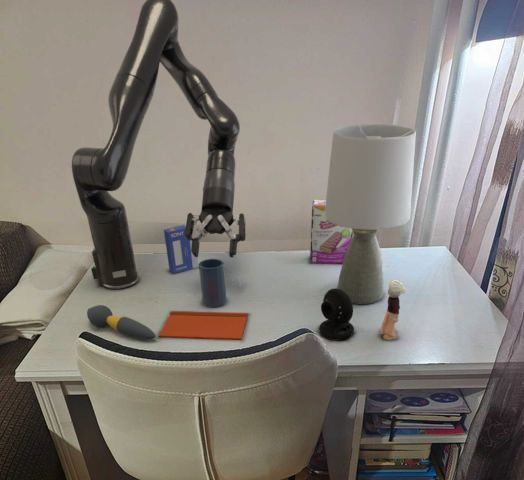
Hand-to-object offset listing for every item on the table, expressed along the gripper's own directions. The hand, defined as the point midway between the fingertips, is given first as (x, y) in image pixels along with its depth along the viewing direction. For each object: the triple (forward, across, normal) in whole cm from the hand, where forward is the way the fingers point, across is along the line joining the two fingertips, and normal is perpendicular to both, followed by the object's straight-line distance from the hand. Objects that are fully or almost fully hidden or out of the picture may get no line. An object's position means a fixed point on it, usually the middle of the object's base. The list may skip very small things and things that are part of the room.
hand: (213, 256), depth 116 cm
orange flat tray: (+18, 0, +3) cm, 18 cm away
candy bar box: (-9, -28, -23) cm, 37 cm away
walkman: (-3, +12, -18) cm, 22 cm away
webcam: (+18, -29, +3) cm, 35 cm away
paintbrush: (+20, +18, +5) cm, 27 cm away
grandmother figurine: (+19, -40, +4) cm, 45 cm away
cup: (+10, 0, -5) cm, 11 cm away
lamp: (+6, -35, -9) cm, 37 cm away
